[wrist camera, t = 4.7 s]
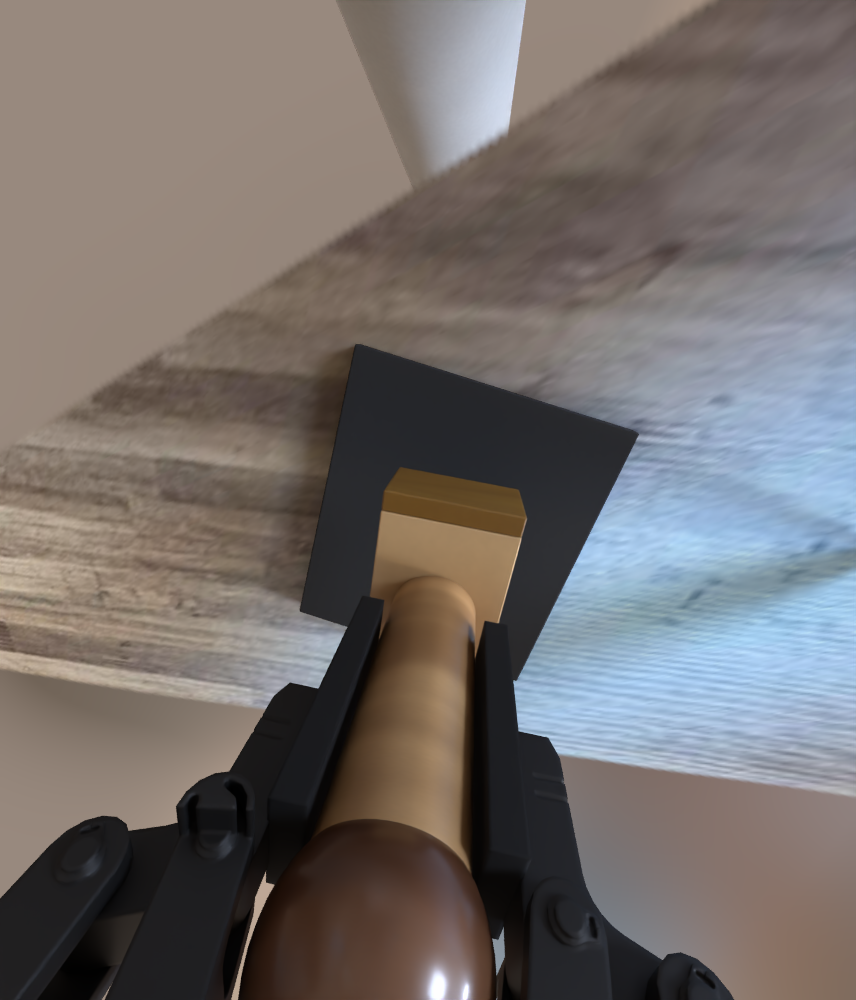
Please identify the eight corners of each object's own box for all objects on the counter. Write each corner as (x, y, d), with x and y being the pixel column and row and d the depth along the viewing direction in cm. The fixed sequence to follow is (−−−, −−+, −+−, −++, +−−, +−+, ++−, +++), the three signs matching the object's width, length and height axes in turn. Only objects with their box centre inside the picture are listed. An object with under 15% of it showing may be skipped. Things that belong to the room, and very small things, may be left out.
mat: (359, 343, 20) (354, 343, 19) (633, 430, 20) (640, 433, 19) (304, 604, 26) (299, 611, 25) (515, 672, 26) (516, 681, 25)
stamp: (399, 466, 17) (66, 956, 3) (519, 489, 16) (704, 1126, 3) (375, 639, 20) (158, 1244, 6) (475, 660, 20) (465, 1335, 6)
